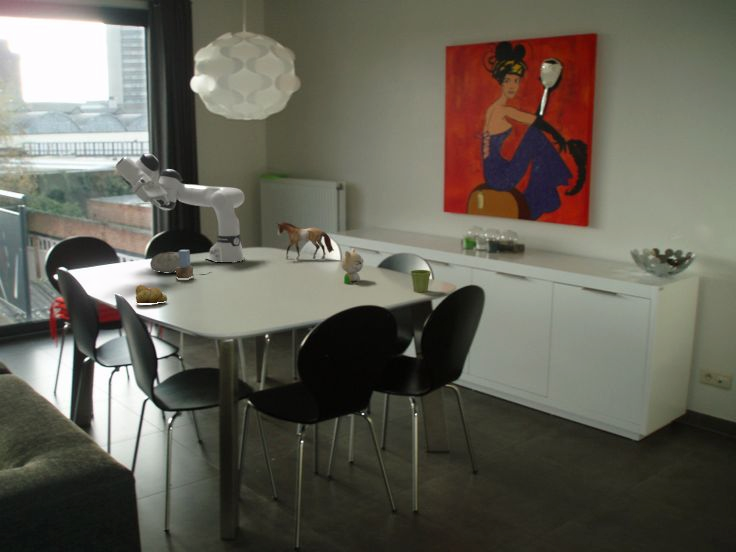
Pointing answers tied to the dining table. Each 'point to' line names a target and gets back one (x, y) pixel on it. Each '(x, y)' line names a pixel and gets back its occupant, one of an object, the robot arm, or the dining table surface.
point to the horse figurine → (305, 237)
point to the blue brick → (184, 258)
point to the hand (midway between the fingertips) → (163, 205)
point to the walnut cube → (184, 272)
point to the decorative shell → (165, 262)
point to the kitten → (352, 266)
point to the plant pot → (420, 280)
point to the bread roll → (149, 295)
